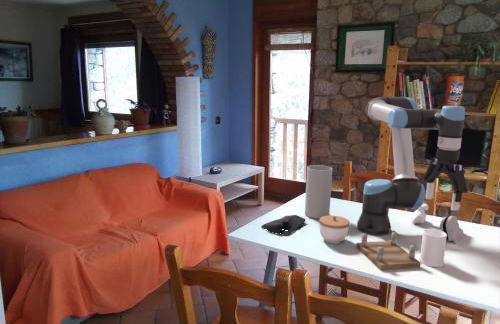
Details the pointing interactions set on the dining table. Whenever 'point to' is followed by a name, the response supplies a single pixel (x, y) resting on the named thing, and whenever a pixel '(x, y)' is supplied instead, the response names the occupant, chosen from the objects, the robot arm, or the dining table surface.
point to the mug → (433, 247)
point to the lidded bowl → (333, 228)
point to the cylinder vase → (318, 191)
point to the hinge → (451, 228)
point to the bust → (419, 214)
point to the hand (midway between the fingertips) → (441, 204)
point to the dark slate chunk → (284, 224)
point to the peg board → (388, 254)
